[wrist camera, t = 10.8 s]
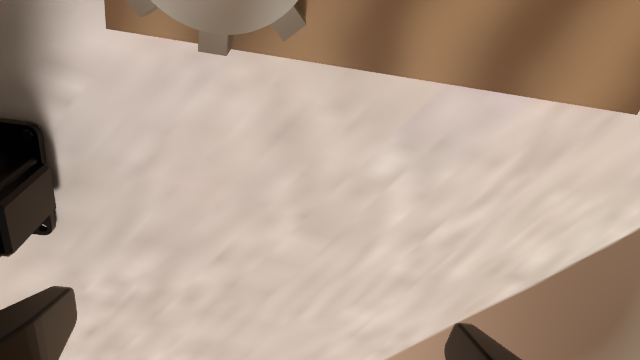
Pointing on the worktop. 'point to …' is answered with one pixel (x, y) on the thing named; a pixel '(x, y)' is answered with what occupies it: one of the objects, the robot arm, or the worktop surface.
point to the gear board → (425, 40)
